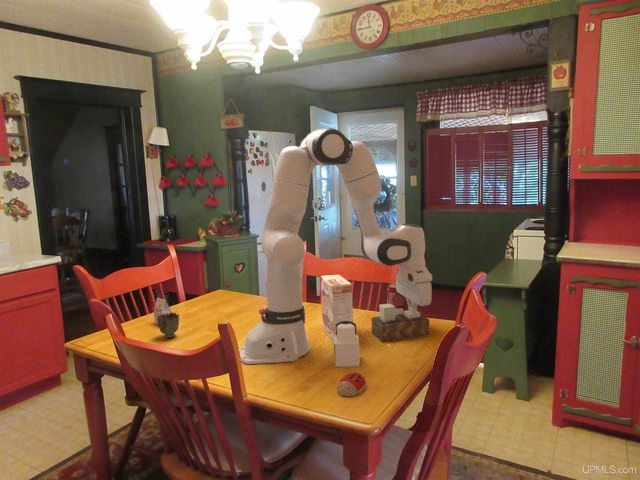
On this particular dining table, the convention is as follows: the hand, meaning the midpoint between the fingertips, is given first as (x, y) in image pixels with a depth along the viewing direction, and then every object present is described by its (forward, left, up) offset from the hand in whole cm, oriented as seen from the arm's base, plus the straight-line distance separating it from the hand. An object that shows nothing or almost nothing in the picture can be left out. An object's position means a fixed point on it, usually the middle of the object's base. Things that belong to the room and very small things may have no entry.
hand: (412, 311), depth 163 cm
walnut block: (-5, 0, -7) cm, 9 cm away
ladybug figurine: (-33, -33, -8) cm, 47 cm away
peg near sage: (-9, 0, -3) cm, 10 cm away
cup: (-81, +26, -8) cm, 85 cm away
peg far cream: (0, 0, -6) cm, 6 cm away
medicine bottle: (-29, -16, -8) cm, 34 cm away
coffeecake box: (-25, +7, -8) cm, 27 cm away
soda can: (+2, +19, -8) cm, 21 cm away
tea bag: (-84, +42, -8) cm, 94 cm away
